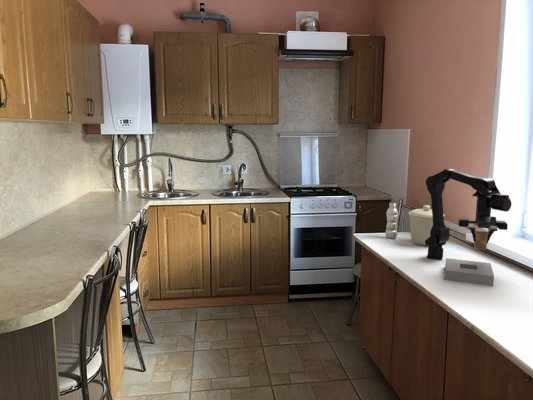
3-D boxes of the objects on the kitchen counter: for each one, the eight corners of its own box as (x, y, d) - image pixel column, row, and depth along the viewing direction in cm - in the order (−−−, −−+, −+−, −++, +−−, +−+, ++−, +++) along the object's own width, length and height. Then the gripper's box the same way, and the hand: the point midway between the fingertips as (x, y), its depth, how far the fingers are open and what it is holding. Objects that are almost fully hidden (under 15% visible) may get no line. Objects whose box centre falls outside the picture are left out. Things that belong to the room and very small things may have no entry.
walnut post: (474, 249, 190) (476, 231, 189) (474, 247, 194) (475, 229, 193) (486, 250, 188) (487, 232, 187) (485, 248, 192) (486, 230, 191)
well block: (444, 279, 182) (445, 270, 181) (445, 266, 198) (445, 258, 198) (493, 285, 175) (494, 276, 174) (489, 271, 192) (490, 263, 191)
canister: (412, 237, 250) (415, 201, 246) (446, 242, 239) (449, 204, 236) (402, 244, 235) (404, 205, 232) (437, 250, 225) (439, 209, 221)
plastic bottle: (391, 240, 244) (392, 204, 241) (382, 237, 250) (384, 202, 247) (399, 238, 247) (401, 203, 244) (391, 236, 253) (393, 201, 250)
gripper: (460, 209, 184) (457, 245, 187) (511, 212, 177) (507, 250, 180) (459, 205, 194) (456, 239, 197) (507, 207, 188) (503, 243, 190)
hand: (480, 243), depth 191 cm, fingers closed on walnut post, 4 cm apart
